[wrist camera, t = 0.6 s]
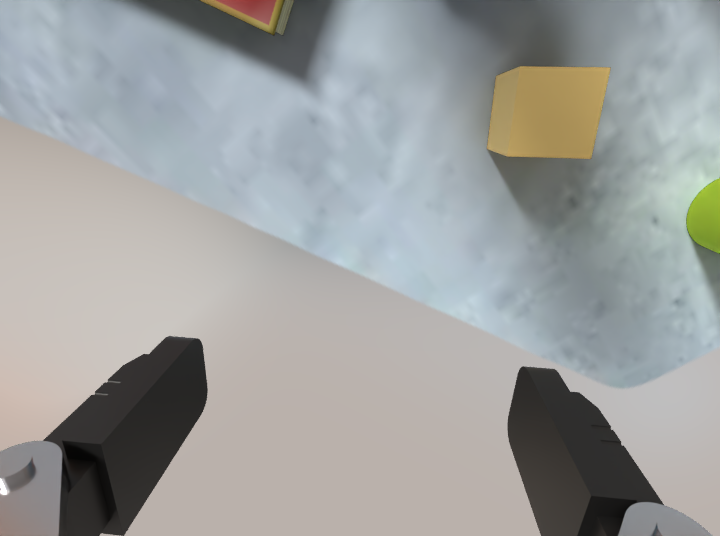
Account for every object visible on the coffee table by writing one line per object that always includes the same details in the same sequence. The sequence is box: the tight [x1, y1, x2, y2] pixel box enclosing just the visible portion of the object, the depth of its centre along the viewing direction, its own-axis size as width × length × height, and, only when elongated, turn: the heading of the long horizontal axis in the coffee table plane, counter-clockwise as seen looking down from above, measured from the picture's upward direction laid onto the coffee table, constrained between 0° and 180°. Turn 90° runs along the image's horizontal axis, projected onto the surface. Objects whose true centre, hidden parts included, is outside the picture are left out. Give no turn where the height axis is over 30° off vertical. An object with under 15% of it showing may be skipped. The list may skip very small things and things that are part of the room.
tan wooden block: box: [487, 66, 611, 159], centre depth 27 cm, size 5×5×6 cm
